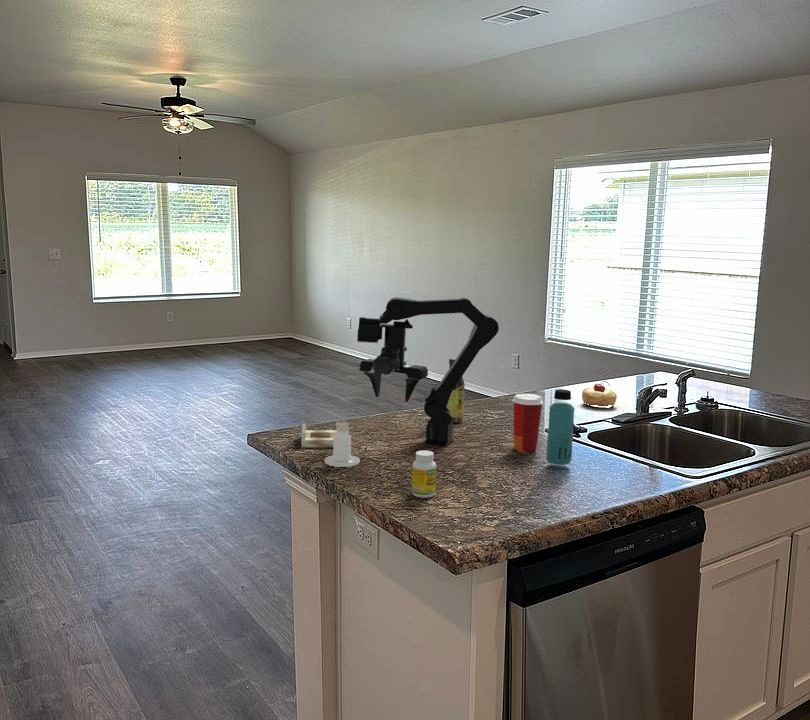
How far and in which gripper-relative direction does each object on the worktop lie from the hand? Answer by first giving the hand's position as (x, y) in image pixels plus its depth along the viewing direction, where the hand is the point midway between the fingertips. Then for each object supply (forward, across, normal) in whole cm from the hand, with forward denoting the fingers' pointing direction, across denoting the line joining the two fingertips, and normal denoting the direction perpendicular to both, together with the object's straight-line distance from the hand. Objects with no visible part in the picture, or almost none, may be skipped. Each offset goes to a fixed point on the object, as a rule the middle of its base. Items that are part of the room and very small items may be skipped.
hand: (391, 399), depth 203 cm
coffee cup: (+11, +35, +12) cm, 39 cm away
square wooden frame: (+12, -16, -11) cm, 23 cm away
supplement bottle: (+12, +26, -34) cm, 44 cm away
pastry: (+11, +42, +79) cm, 90 cm away
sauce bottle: (+12, +7, +30) cm, 33 cm away
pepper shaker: (+12, -2, -23) cm, 26 cm away
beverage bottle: (+11, +47, +2) cm, 49 cm away
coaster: (+12, -2, -23) cm, 26 cm away
